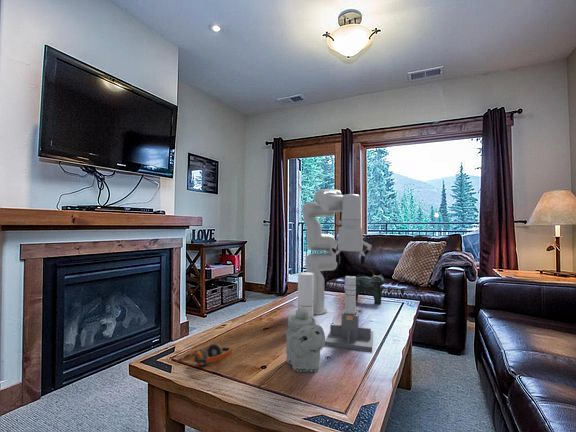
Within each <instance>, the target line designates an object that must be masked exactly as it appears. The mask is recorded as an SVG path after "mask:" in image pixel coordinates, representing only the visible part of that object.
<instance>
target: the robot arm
mask: <svg viewBox="0 0 576 432" xmlns="http://www.w3.org/2000/svg"><path fill="white" fill-rule="evenodd" d="M313 198H314V201H308V202H305V203H304V204H303V206H302V217H303V221H304V224H305V227H306V243H307V245H306V246H307V249H308V250H309V251H313V252H317V253H309V254H307V256H306V257H305V269H306V272H309V273H313V274H314V286H313V315H324V314H326V313H327V312H328V309H327V308H326V307H325V277H324V275H323V274H322V273H321V272H323V271H335V270H336V269H337V267H338V266H339V265H340V264H341V252H357V253H360V254H361V256H360V266H361V267H362V266H364V264H366V263H365V262H366V259H365V258H366V255H367V254H368V253H369V252H370V251H371V249H372V247H373V246H372V244H369V243H368V242H366V241H364V239H363V238H364V237H363V229H362V227H361V196H360V195H359V194H355V193H349V194H342V192H341V190H338V189H332V188H331V189H330V188H320V189H318V190H317V191H315V193H314V195H313ZM336 213H341V219H340V220H338V221H337V225H341V226H340V227H339V229H338V236H337V240H336V239H335V236H334V235H333V234H330V233H323V231H322V230H323V229H322V224H321V222H320V221H319V220H318V219H317V218H333V217H334V215H335V214H336ZM364 246H365V247H367V248H366V250H365V251H364V250H363V248H364ZM321 252H324V253H321Z"/></svg>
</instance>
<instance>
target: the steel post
mask: <svg viewBox="0 0 576 432" xmlns="http://www.w3.org/2000/svg"><path fill="white" fill-rule="evenodd" d="M356 278H357V276H356V277H355V276H354V275H353V276H352V275H345V277H344V311H345V314H346V315H356V312H357V310H356V309H357V307H356V306H357V305H356V303H357V301H356Z"/></svg>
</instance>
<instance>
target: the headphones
mask: <svg viewBox="0 0 576 432" xmlns="http://www.w3.org/2000/svg"><path fill="white" fill-rule="evenodd" d="M197 351H198V352H196V353H195V352H194V353H195V354H194V362H195V363H196V365H197V366H199V365H201V366H202V365H205V366H206V365H207V364H209V363H210V364H211V363H214V362H218V361H220V360H223V359H225V358H228V357H229V356H230V355H232V354H233V349H232V347H222V346H221V345H220V344H218V343H217V344H216V343H212V344H211V345H209V346H208V347H207V349H206V350H205V348H204V349H203V348H201V349H199V350H197ZM192 356H193V355H190V356H188V357H185V359H188V358H192ZM178 361H180V362H181V361H182V359H181V360H177V361H176V362H177V363H179V362H178Z"/></svg>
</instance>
